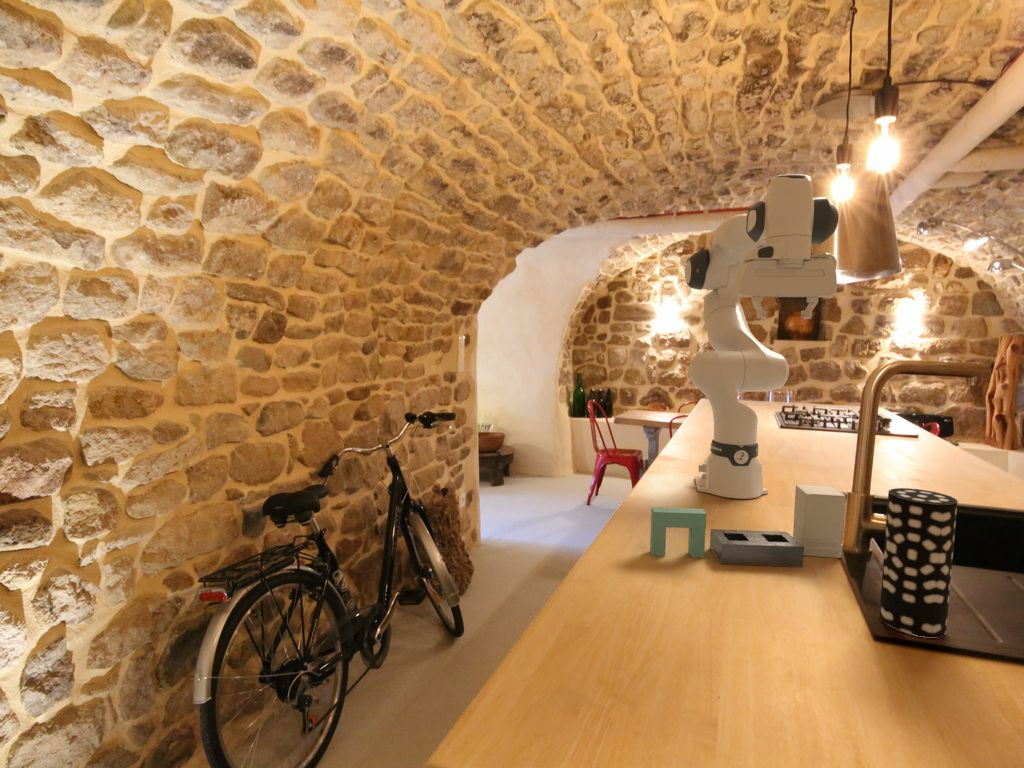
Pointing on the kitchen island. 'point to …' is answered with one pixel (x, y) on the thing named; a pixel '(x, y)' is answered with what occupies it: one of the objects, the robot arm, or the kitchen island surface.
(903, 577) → the white-spotted black cylinder
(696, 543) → the green u-shaped block
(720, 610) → the kitchen island surface
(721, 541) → the gray socket base
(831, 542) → the supplement box
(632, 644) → the kitchen island surface
